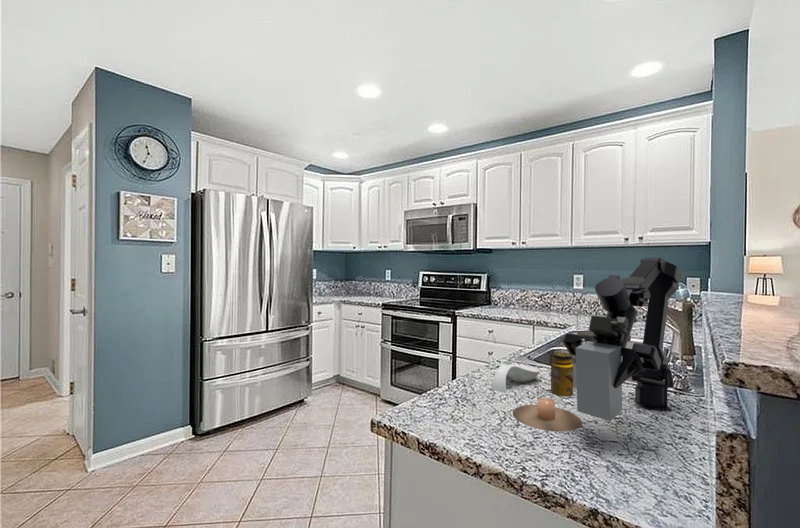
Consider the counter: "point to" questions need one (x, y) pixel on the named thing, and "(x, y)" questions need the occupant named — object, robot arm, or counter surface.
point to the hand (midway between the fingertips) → (597, 382)
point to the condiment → (561, 374)
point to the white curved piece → (513, 375)
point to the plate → (559, 424)
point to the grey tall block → (598, 380)
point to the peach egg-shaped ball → (546, 409)
